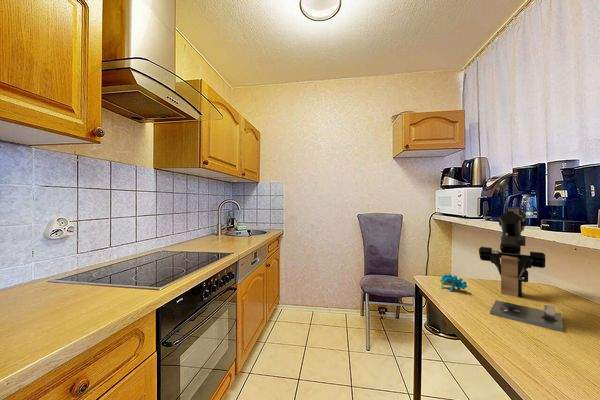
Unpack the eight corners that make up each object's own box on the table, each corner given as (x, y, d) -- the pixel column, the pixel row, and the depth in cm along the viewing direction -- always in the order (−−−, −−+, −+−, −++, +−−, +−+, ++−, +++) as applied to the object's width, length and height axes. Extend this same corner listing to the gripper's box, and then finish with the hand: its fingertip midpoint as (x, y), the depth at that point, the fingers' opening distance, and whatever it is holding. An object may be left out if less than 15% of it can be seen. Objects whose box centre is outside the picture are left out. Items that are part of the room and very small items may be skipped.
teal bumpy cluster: (471, 288, 114) (461, 273, 111) (468, 299, 111) (457, 285, 108) (446, 284, 123) (436, 271, 120) (443, 295, 120) (432, 282, 118)
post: (502, 290, 95) (502, 255, 95) (518, 293, 92) (518, 257, 92) (501, 293, 91) (501, 257, 92) (517, 297, 88) (517, 259, 89)
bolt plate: (495, 303, 101) (495, 289, 101) (561, 317, 88) (561, 302, 88) (490, 314, 90) (490, 299, 91) (563, 331, 78) (563, 314, 78)
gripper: (479, 225, 101) (474, 258, 93) (545, 229, 89) (546, 267, 80) (482, 243, 107) (478, 275, 98) (544, 249, 94) (545, 286, 86)
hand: (509, 276), depth 91 cm, fingers closed on post, 4 cm apart
